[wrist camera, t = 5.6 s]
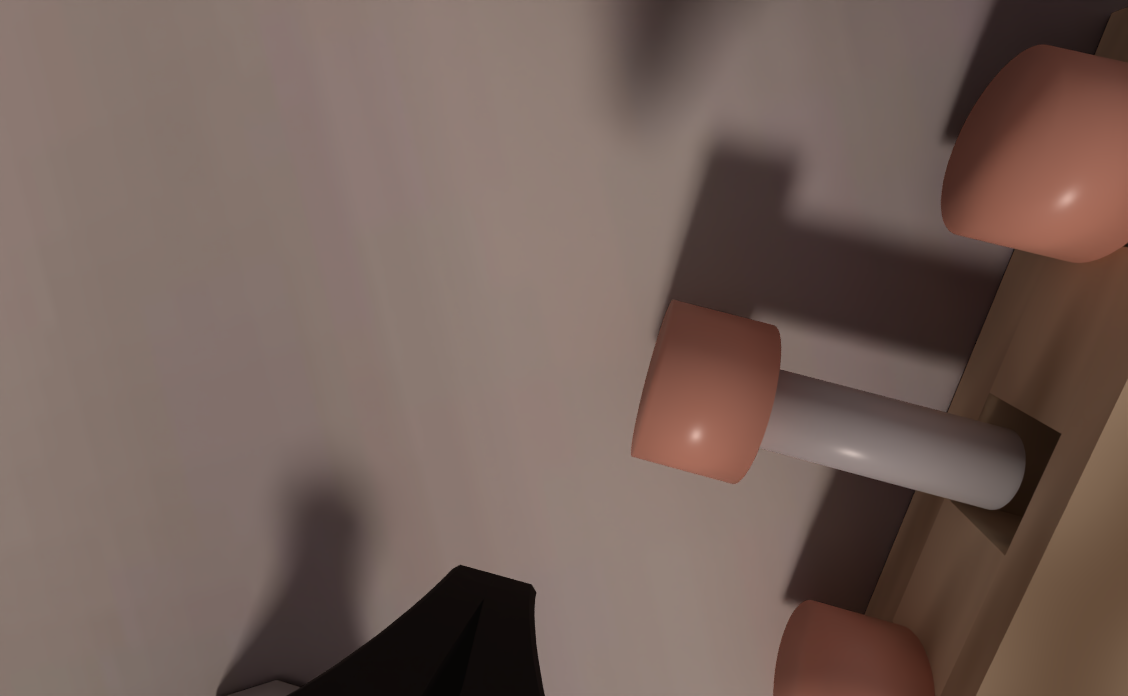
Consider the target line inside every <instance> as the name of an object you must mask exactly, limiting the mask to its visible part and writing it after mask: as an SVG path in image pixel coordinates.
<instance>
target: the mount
mask: <svg viewBox="0 0 1128 696" xmlns="http://www.w3.org/2000/svg"><path fill="white" fill-rule="evenodd" d="M1095 55H1096V56H1100V57H1105V58H1109V59H1114V60H1118V61H1123V62H1127V63H1128V7H1126V8H1124V9H1121V10H1118V11H1116V12H1113V13H1112V14H1111V16H1110V19H1109V21H1108V23H1107V26H1106V28H1105V31H1104V33H1103V36H1102V38H1101V40H1100V43H1099V45H1098V48H1097V50H1096V53H1095ZM947 413H950V414H954V415H958V416H962V417H966V418H969V419H973V420H977V421H981V422H985V423H989V424H993V425H996V426H1000V427H1004V428H1008V429H1011V430H1013V431H1014V432H1016V433H1017V434H1018V435H1019V437H1020V438H1021V440H1022V442H1023V445H1024V449H1025V456H1026V464H1025V472H1024V476H1023V479H1022V482H1021V485H1020V487H1019V489H1018V491H1017V493H1016V494H1015V496H1014V497H1013V498H1012V500H1011V501H1010V502H1009V503H1008V504H1006V505H1005V506H1004V507H1002V508H1000V509H997V510H988V509H984V508H981V507H977V506H973V505H970V504H966V503H962V502H958V501H955V500H951V499H947V498H943V497H940V496H936V495H932V494H928V493H925V492H921V491H917V490H915V493H914V495H913V498H912V500H911V502H910V505H909V507H908V510H907V512H906V515H905V517H904V519H903V522H902V524H901V527H900V529H899V532H898V534H897V536H896V539H895V541H894V544H893V546H892V549H891V551H890V553H889V556H888V558H887V561H886V563H885V566H884V568H883V570H882V573H881V575H880V578H879V580H878V583H877V585H876V587H875V590H874V592H873V595H872V597H871V600H870V602H869V605H868V607H867V609H866V612H865V614H864V615H867V616H870V617H874V618H877V619H881V620H884V621H888V622H891V623H895V624H899V625H902V626H905V627H907V628H908V629H910V630H911V631H912V632H913V633H914V634H915V635H916V636H917V637H918V639H919V640H920V642H921V644H922V645H923V647H924V649H925V652H926V654H927V657H928V660H929V663H930V666H931V671H932V675H933V681H934V688H935V696H1128V243H1127V244H1125V245H1124V246H1122V247H1121V248H1120V249H1118V250H1116V251H1115V252H1113V253H1111V254H1109V255H1107V256H1105V257H1103V258H1100V259H1098V260H1094V261H1091V262H1085V263H1071V262H1067V261H1063V260H1059V259H1055V258H1051V257H1047V256H1042V255H1038V254H1034V253H1030V252H1026V251H1022V250H1018V249H1015V250H1014V252H1013V254H1012V257H1011V259H1010V262H1009V264H1008V267H1007V269H1006V271H1005V274H1004V276H1003V279H1002V281H1001V284H1000V286H999V288H998V291H997V293H996V296H995V298H994V301H993V303H992V305H991V308H990V310H989V313H988V315H987V318H986V320H985V322H984V325H983V327H982V330H981V332H980V335H979V337H978V339H977V342H976V344H975V347H974V349H973V352H972V354H971V356H970V359H969V361H968V364H967V366H966V369H965V371H964V374H963V376H962V378H961V381H960V383H959V386H958V388H957V391H956V393H955V395H954V398H953V400H952V403H951V405H950V408H949V410H948V412H947Z"/></svg>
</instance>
